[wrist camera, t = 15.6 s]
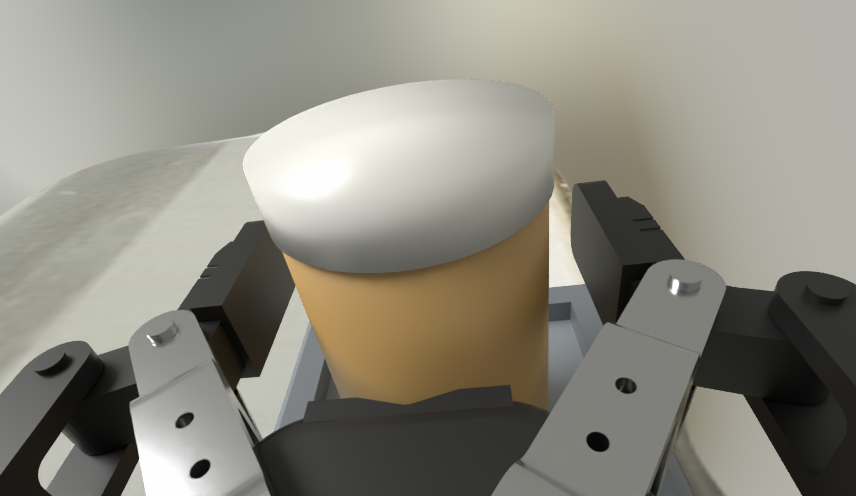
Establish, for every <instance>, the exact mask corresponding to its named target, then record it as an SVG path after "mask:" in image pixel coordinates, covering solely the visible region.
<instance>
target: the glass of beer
mask: <svg viewBox="0 0 856 496" xmlns="http://www.w3.org/2000/svg"><path fill="white" fill-rule="evenodd" d="M554 139H555V110H554V107H553V105H552V103H551V102H550V101H549V100H548V99H547V97H545V96H544V95H542V94H540V93H539V92H537V91H535V90H532V89H530V88H527V87H524V86H521V85H517V84H513V83H508V82H501V81H493V80H480V79H448V80H433V81H423V82H414V83H407V84H400V85H394V86H389V87H384V88H379V89H374V90H370V91H365V92H361V93H357V94H354V95H350V96H346V97H343V98H340V99H337V100H333V101H330V102H328V103H324V104H322V105H319V106H316V107H314V108H311V109H309V110H306V111H304V112H302V113H299V114H297V115H295V116H293V117H291V118H289V119H288V120H285V121H283V122H282V123H280V124H278V125H276V126H275V127H273V128H272V129H270V130H269V131H267V132H266V133H265V134H263V135H262V136H261V137H259V138H258V139H257V140H256V141H255V142H254V143H253V144H252V145H251V147H250V148H249V149H248V151H247V152H246V154H245V157H244V159H243V170H244V173H245V176H246V178H247V181H248V183H249V186H250V188H251V190H252V193H253V195H254V198H255V200H256V203H257V205H258V208H259V210H260V212H261V215H262V217H263V220H264V222H265V225H266V227H267V230H268V232H269V235H270V237H271V239H272V240H273V242H274V243H275V245H276V246H277V247H278V248H279V249H280V250H281V251H282V253H283V255H284V258H285V260H286V263H287V265H288V268H289V270H290V273H291V275H292V278H293V280H294V283H295V285H296V288H297V290H298V293H299V295H300V298H301V300H302V303H303V305H304V308H305V310H306V313H307V315H308V318H309V320H310V323H311V325H312V328H313V330H314V333H315V335H316V338H317V340H318V343H319V345H320V348H321V350H322V353H323V355H324V358H325V360H326V363H327V365H328V368H329V370H330V373H331V375H332V378H333V380H334V383H335V385H336V388H337V390H338V393H339V395H340V398H341V399H342V398H354V397H357V398H364V399H370V400H376V401H383V402H389V403H396V404H403V405H406V404H412V403H415V402H418V401H422V400H425V399H428V398H431V397H435V396H438V395H441V394H444V393H448V392H451V391H454V390H457V389H466V388H478V387H490V386H503V385H510V387H511V393H512V399H513V401H517V402H523V403H526V404H530V405H534V406H537V407H539V408H542V409H545V410H547V411H548V370H549V199H550V198H551V196H552V192H553V188H554V149H555V140H554Z"/></svg>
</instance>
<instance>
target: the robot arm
mask: <svg viewBox="0 0 856 496" xmlns="http://www.w3.org/2000/svg"><path fill="white" fill-rule="evenodd" d="M571 246H572V252H573V255H574V258H575V261H576V263H577V265H578V268H579V270H580V272H581V275H582V277H583V279H584V282H585V284H586V287H587V289H588V291H589V294H590V296H591V298H592V301H593V303H594V305H595V308H596V310H597V312H598V315H599V317H600V319H601V322H602V324H603V328H602V329H601V331H600V332H599V334H598V336H597V337H596V339H595V341H594V342H593V344H592V346H591V347H590V349H589V350H588V352H587V354H586V355H585V357H584V359H583V360H582V362H581V364H580V365H579V367H578V369H577V370H576V372H575V373H574V375H573V377H572V378H571V380H570V382H569V383H568V385H567V387H566V388H565V390H564V392H563V393H562V395H561V396H560V398H559V400H558V401H557V403H556V405H555V406H554V408H553V410H552V411H551V412H549V411H547V410H545V409H542V408H539V407H537V406H534V405H530V404H526V403H523V402H517V401H513V399H512V393H511V387H510V385H503V386H490V387H478V388H466V389H457V390H454V391H451V392H448V393H444V394H441V395H438V396H435V397H431V398H428V399H425V400H422V401H418V402H415V403H412V404H406V405H403V404H396V403H389V402H383V401H376V400H370V399H364V398H357V397H354V398H342V399H329V400H317V401H308V403H307V407H306V411H305V414H304V418H303V419H300V420H297V421H295V422H292V423H290V424H287V425H285V426H284V427H282V428H280V429H278V430H276V431H274V432H273V433H271V434H270V435H268V436H267V437H265V438H264V439H262V437H261V434H260V432H259V430H258V428H257V426H256V424H255V422H254V420H253V418H252V416H251V414H250V412H249V410H248V408H247V406H246V403H245V401H244V399H243V397H242V395H241V393H240V392H239V390H238V388H237V385H238V382H239V380H240V378H250V377H260V375H261V372H262V369H263V367H264V364H265V362H266V359H267V357H268V354H269V352H270V349H271V347H272V344H273V342H274V339H275V336H276V334H277V331H278V329H279V326H280V324H281V321H282V319H283V316H284V314H285V311H286V309H287V306H288V303H289V301H290V298H291V296H292V293H293V291H294V288H295V283H294V280H293V278H292V275H291V273H290V270H289V268H288V265H287V263H286V260H285V258H284V255H283V253H282V251H281V250H280V249H279V248H278V247H277V246H276V245H275V243H274V242H273V240H272V239H271V237H270V235H269V232H268V230H267V227H266V225H265V222H264V220H262V221H253V222H247V223H245V224H244V226H243V227H242V229H241V230H240V232H239V233H238V235H237V237H236V238H235V240H234V241H233V242H229V243H228V244H227V245H226V246H225V247H223V248H222V249H221V250H220V251H218V252H217V253H216V254H215V255H214V257H213V258H212V260H211V261H210V263H209V264H208V266H207V267H208V268H207V269H205V270H204V272H203V273H202V274H201V276H200V277H201V278H200V279H198V280H197V282H196V283H195V285H194V286H193V288H192V289H191V291H190V292H189V294H188V295H187V297H186V298H185V299H184V301H183V302H182V304H181V305H180V307H179V308H178V310H175V311H170V312H167V313H164V314H161V315H159V316H157V317H155V318H153V319H151V320H150V321H148V322H146V323H145V324H144V325H142V326H141V327H140V328H139V329H138V330H137V331H136V332H135V333H134V334H133V336H132V337H131V339H130V341H129V346H126V347H123V348H119V349H116V350H113V351H110V352H107V353H104V354H101V355H97V354H96V353H95V352H94V351H93V349H92V348H91V347H90V346H89V344H88V343H86V342H83V341H72V342H67V343H64V344H61V345H58V346H56V347H53V348H51V349H49V350H47V351H46V352H44V353H42V354H41V355H39V356H37V357H36V358H35V359H33V360H32V361H31V362H30V363H28V364H27V365H26V366H25V367H24V368H23V369H22V370H21V371H20V373H19V374H18V375H17V376H16V377H15V378H14V379H13V381H12V382H11V383H10V384H9V385H8V386H7V387H6V389H5V390H4V391H3V392H2V393H1V394H0V496H121V494H122V492H123V490H124V488H125V486H126V484H127V482H128V480H129V478H130V476H131V474H132V472H133V470H134V468H135V466H136V464H137V462H138V460H139V458H140V463H141V468H142V473H143V479H144V484H145V489H146V494H147V496H658V495H659V493H660V490H661V487H662V484H663V481H664V478H665V475H666V472H667V469H668V466H669V463H670V460H671V457H672V454H673V451H674V448H675V445H676V443H677V440H678V437H679V434H680V432H681V429H682V426H683V423H684V421H685V418H686V415H687V412H688V409H689V407H690V404H691V401H692V399H693V396H694V393H695V390H696V388H697V386H699V387H704V388H709V389H715V390H721V391H726V392H732V393H737V394H743V395H744V397H745V398H746V400H747V402H748V404H749V405H750V407H751V409H752V410H753V412H754V414H755V415H756V417H757V419H758V421H759V422H760V424H761V426H762V428H763V429H764V431H765V433H766V434H767V436H768V438H769V440H770V441H771V443H772V445H773V446H774V448H775V450H776V452H777V453H778V455H779V457H780V458H781V460H782V462H783V463H784V465H785V467H786V469H787V470H788V472H789V473H790V475H791V477H792V479H793V481H794V482H795V484H796V486H797V487H798V489H799V491H800V492H801V494H802V496H856V285H855V284H854V283H852V282H849V281H847V280H845V279H843V278H840V277H837V276H834V275H829V274H825V273H820V272H810V271H800V272H793V273H789V274H787V275H784V276H783V277H781V278H780V279H779V280H778V282H777V285H776V287H775V290H774V291H765V290H755V289H746V288H737V287H731V286H726V285H725V282H724V280H723V278H722V277H721V276H720V275H719V274H718V273H717V272H716V271H714V270H712V269H711V268H709V267H707V266H705V265H702V264H700V263H696V262H693V261H688V260H685V259H684V258H683V256H682V255H681V254H680V252H679V251H678V250H677V249H676V247H675V246H674V245H673V243H672V242H671V240H670V239H669V238H668V237H667V235H666V234H665V233H664V231H663V230H661V229H660V226H659V225H658V223H657V222H656V221H655V220H653V217H652V216H651V214H650V213H649V212H648V210H647V209H646V208H645V207H644V205H642V204H640V203H638V202H636V201H635V200H633V199H631V198H629V197H620V198H617V197H616V195H615V194H614V192H613V191H612V189H611V188H610V186H609V185H608V183H607V182H606V181H605V180H604V181H594V182H586V183H578V184H575V185H574V187H573V192H572V214H571ZM61 432H62V433H63V434H64V435H65V436H66V437H67V438H68V439H69V440H70V441H71V442H73V443H74V444H75V446H74V447H73V449H72V450H71V452H70V453H69V455H68V457H67V458H66V460H65V461H64V463H63V464H62V466H61V467H60V469H59V471H58V472H57V474H56V475H55V477H54V478H53V480H52V481H51V483H50V485H49V486H48V488H47V489H46V490H45V489H44V488H43V487H42V486H41V485H40V483H39V480H38V470H39V466H40V464H41V461H42V460H43V458H44V456H45V455H46V454H47V452H48V451H49V449H50V448H51V446H52V445H53V443H54V442H55V440H56V439H57V438H58V436H59V435H60V433H61Z"/></svg>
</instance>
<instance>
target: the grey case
mask: <svg viewBox="0 0 856 496" xmlns="http://www.w3.org/2000/svg"><path fill="white" fill-rule="evenodd" d="M602 328H603V324H602V322H601V319H600V317H599V315H598V312H597V310H596V308H595V305H594V303H593V301H592V298H591V296H590V294H589V291H588V289H587V287H586V284H582V285H572V286H562V287H552V288H549V370H548V411H549V412H551V411H552V410H553V408H554V406H555V405H556V403H557V401H558V400H559V398H560V396H561V395H562V393H563V392H564V390H565V388H566V387H567V385H568V383H569V382H570V380H571V378H572V377H573V375H574V373H575V372H576V370H577V369H578V367H579V365H580V364H581V362H582V360H583V359H584V357H585V355H586V354H587V352H588V350H589V349H590V347H591V346H592V344H593V342H594V341H595V339H596V337H597V336H598V334H599V332H600V331H601V329H602ZM329 399H341V398H340V395H339V393H338V390H337V388H336V385H335V383H334V380H333V378H332V375H331V373H330V370H329V368H328V365H327V363H326V360H325V358H324V355H323V353H322V350H321V348H320V345H319V343H318V340H317V338H316V335H315V333H314V330H313V328H312V325H311V323H310V321H309V325H308V328H307V331H306V334H305V337H304V340H303V343H302V346H301V349H300V352H299V355H298V359H297V362H296V365H295V368H294V371H293V374H292V377H291V380H290V383H289V386H288V389H287V393H286V396H285V399H284V402H283V405H282V408H281V411H280V414H279V417H278V420H277V424H276V427H275V430H274V431H276V430H278V429H280V428H282V427H284V426H285V425H287V424H290V423H292V422H295V421H297V420H300V419H303V418H304V414H305V411H306V407H307V403H308V401H317V400H329ZM658 496H694V495H693V493H692V491H691V488H690V486H689V484H688V482H687V480H686V477H685V475H684V473H683V471H682V469H681V467H680V464H679V462H678V460H677V458H676V456H675V453H674V451H673V454H672V457H671V460H670V463H669V466H668V469H667V472H666V475H665V478H664V481H663V484H662V487H661V490H660V493H659V495H658Z"/></svg>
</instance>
